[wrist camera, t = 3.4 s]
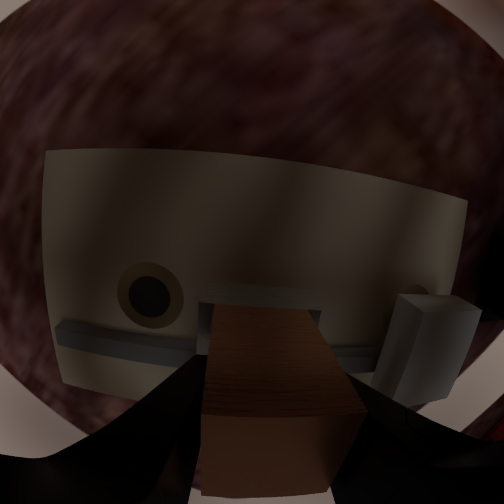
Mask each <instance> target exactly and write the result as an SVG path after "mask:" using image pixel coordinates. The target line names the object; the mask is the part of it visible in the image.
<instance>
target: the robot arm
mask: <svg viewBox="0 0 504 504" xmlns="http://www.w3.org/2000/svg"><path fill="white" fill-rule="evenodd" d="M477 308H479V309H481V310H482V313H481V316H480V319H479V322H485V321H495V320H504V233H501V232H495V233H494V235H493V239H492V244H491V250H490V255H489V260H488V265H487V269H486V274H485V278H484V282H483V286H482V290H481V293H480V297H479V300H478V304H477ZM207 357H208V355H201V354H195V355H194V356H192V357H191V358H190V359H189V360H188V361H187V362H185V363H184V364H183V365H182V366H181V367H179V368H178V369H177V370H176V371H175V372H173V373H172V374H171V375H170V376H169V377H167V378H166V379H165V380H164V381H163V382H161V383H160V384H159V385H158V386H156V387H155V388H154V389H153V390H152V391H150V392H149V393H148V394H147V395H145V396H144V397H143V398H142V399H140V400H139V401H138V402H137V403H136V404H134V405H133V406H132V408H129V409H128V410H127V411H125V412H124V413H123V414H121V415H120V416H119V417H117V418H116V419H115V420H113V421H112V422H110V423H109V424H107V425H106V426H104V427H103V428H101V429H99V430H98V431H96V432H94V433H93V434H91V435H89V436H87V437H85V438H84V439H82V440H80V441H78V442H76V443H75V444H73V445H71V446H69V447H67V448H65V449H63V450H61V451H60V452H57V453H55V454H53V455H50V456H47V457H43V458H23V457H15V456H9V455H2V454H0V504H188V500H189V496H190V491H191V487H192V482H193V477H194V473H195V468H196V464H197V459H198V455H199V450H200V446H201V409H202V400H203V391H204V382H205V373H206V365H207ZM344 372H345V371H344ZM345 373H346V372H345ZM346 375H347V377H348V378H349V380H350V382H351V384H352V385H353V387H354V389H355V390H356V392H357V394H358V395H359V397H360V399H361V401H362V402H363V404H364V406H365V407H366V409H367V411H368V413H367V415H366V417H365V419H364V422H363V424H362V426H361V428H360V430H359V432H358V434H357V436H356V439H355V441H354V443H353V445H352V447H351V449H350V450H349V452H348V454H347V456H346V458H345V460H344V462H343V464H342V466H341V467H340V469H339V471H338V473H337V475H336V476H335V478H334V480H333V482H332V483H331V485H330V487H331V490H332V494H333V497H334V501H335V504H504V439H503V440H499V441H484V440H479V439H476V438H474V437H471V436H468V435H466V434H463V433H461V432H458V431H455V430H453V429H451V428H448V427H446V426H443V425H441V424H439V423H437V422H434V421H432V420H430V419H428V418H426V417H424V416H422V415H420V414H418V413H416V412H414V411H413V410H411V409H409V408H407V409H406V407H405V406H403V405H402V404H400V403H398V402H396V401H394V400H393V399H391V398H389V397H387V396H386V395H384V394H382V393H380V392H379V391H377V390H375V389H373V388H372V387H370V386H368V385H366V384H365V383H363V382H361V381H360V380H358V379H356V378H355V377H353V376H351V375H350V374H348V373H346Z"/></svg>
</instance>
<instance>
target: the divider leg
mask: <svg viewBox="0 0 504 504" xmlns="http://www.w3.org/2000/svg"><path fill="white" fill-rule="evenodd" d="M321 311H322V310H321V309H320V308H319V306H318V305H317V303H316V302H315V301H314V299H313V298H312V296H311V295H310V294H309V292H308V291H307V289H302V288H288V287H274V286H261V285H249V284H237V283H226V282H215V281H204V284H203V288H202V291H201V295H200V299H199V304H198V325H197V353H196V354H201V355H208V357H207V365H206V373H205V382H204V391H203V400H202V409H201V495H202V496H215V497H239V498H259V497H283V496H296V495H307V494H315V493H323V492H327V490H328V488H329V487H330V485H331V483H332V482H333V480H334V478H335V476H336V475H337V473H338V471H339V469H340V467H341V466H342V464H343V462H344V460H345V458H346V456H347V454H348V452H349V450H350V449H351V447H352V445H353V443H354V441H355V439H356V436H357V434H358V432H359V430H360V428H361V426H362V424H363V422H364V419H365V417H366V415H367V413H368V411H367V409H366V407H365V406H364V404H363V402H362V401H361V399H360V397H359V395H358V394H357V392H356V390H355V389H354V387H353V385H352V384H351V382H350V380H349V378H348V377H347V375H346V373H345V372H344V370H343V368H342V367H341V365H340V363H339V362H338V360H337V358H336V357H335V355H334V353H333V352H332V350H331V348H330V347H329V345H328V343H327V342H326V340H325V338H324V337H323V335H322V333H321V332H320V330H319V328H318V325H319V321H320V316H321Z"/></svg>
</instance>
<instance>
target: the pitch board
mask: <svg viewBox="0 0 504 504" xmlns="http://www.w3.org/2000/svg"><path fill="white" fill-rule="evenodd" d="M467 204H468V201H467V200H464V199H460V198H457V197H454V196H450V195H447V194H444V193H440V192H436V191H433V190H429V189H426V188H422V187H418V186H414V185H410V184H406V183H402V182H398V181H394V180H390V179H385V178H381V177H376V176H372V175H367V174H362V173H357V172H352V171H347V170H342V169H336V168H331V167H325V166H319V165H313V164H307V163H301V162H294V161H287V160H280V159H273V158H265V157H256V156H248V155H238V154H228V153H217V152H204V151H190V150H171V149H142V148H94V149H66V150H49V151H46V155H45V165H44V176H43V192H42V254H43V270H44V281H45V291H46V299H47V307H48V314H49V320H50V326H51V332H52V337H53V342H54V347H55V352H56V356H57V361H58V365H59V369H60V373H61V377H62V380H63V383H66V384H70V385H73V386H77V387H80V388H84V389H88V390H92V391H96V392H100V393H104V394H108V395H113V396H117V397H122V398H127V399H132V400H137V401H139V400H140V399H142V398H143V397H144V396H145V395H147V394H148V393H149V392H150V391H152V390H153V389H154V388H155V387H156V386H158V385H159V384H160V383H161V382H163V381H164V380H165V379H166V378H167V377H169V376H170V375H171V374H172V373H173V372H175V371H176V370H177V369H178V368H179V367H181V366H182V365H183V364H184V363H185V362H187V361H188V360H189V359H190V358H191V357H192V356H194V355H195V354H196V353H197V325H198V304H199V299H200V295H201V291H202V288H203V284H204V281H215V282H226V283H237V284H249V285H261V286H274V287H288V288H302V289H307V291H308V292H309V294H310V295H311V296H312V298H313V299H314V301H315V302H316V303H317V305H318V306H319V308H320V309H321V310H322V311H321V316H320V321H319V325H318V328H319V330H320V332H321V333H322V335H323V337H324V338H325V340H326V342H327V343H328V345H329V347H330V348H331V350H332V352H333V353H334V355H335V357H336V358H337V360H338V362H339V363H340V365H341V367H342V368H343V370H344V371H345V372H346V373H348V374H350V375H351V376H353V377H355V378H356V379H358V380H360V381H361V382H363V383H365V384H366V385H368V386H370V387H372V388H373V389H375V390H377V391H379V392H380V393H382V394H384V395H386V396H387V397H389V398H391V399H393V400H394V401H396V402H398V403H400V404H402V405H403V406H405V407H409V406H414V405H419V404H423V403H428V402H432V401H436V400H440V399H444V398H447V396H448V395H449V393H450V391H451V389H452V386H453V384H454V382H455V380H456V378H457V376H458V373H459V371H460V369H461V367H462V364H463V362H464V360H465V357H466V355H467V352H468V350H469V347H470V344H471V342H472V339H473V336H474V334H475V331H476V328H477V325H478V322H479V319H480V316H481V313H482V310H481V309H479V308H477V307H475V306H474V305H472V304H470V303H468V302H467V301H465V300H463V299H461V298H460V297H458V296H456V295H450V294H451V290H452V286H453V282H454V278H455V273H456V269H457V264H458V260H459V255H460V250H461V244H462V239H463V233H464V226H465V219H466V212H467Z"/></svg>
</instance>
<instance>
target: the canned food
mask: <svg viewBox="0 0 504 504" xmlns="http://www.w3.org/2000/svg"><path fill="white" fill-rule="evenodd" d="M503 439H504V417H503V418H502V419H501V420H500V421H499V422H497V423H496V424H495V425H494V426H493V427H492V428H491V430H490V431H489V432H488V433H487V434H486V435H485V436H484V438H483V439H482V440H484V441H499V440H503Z"/></svg>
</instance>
